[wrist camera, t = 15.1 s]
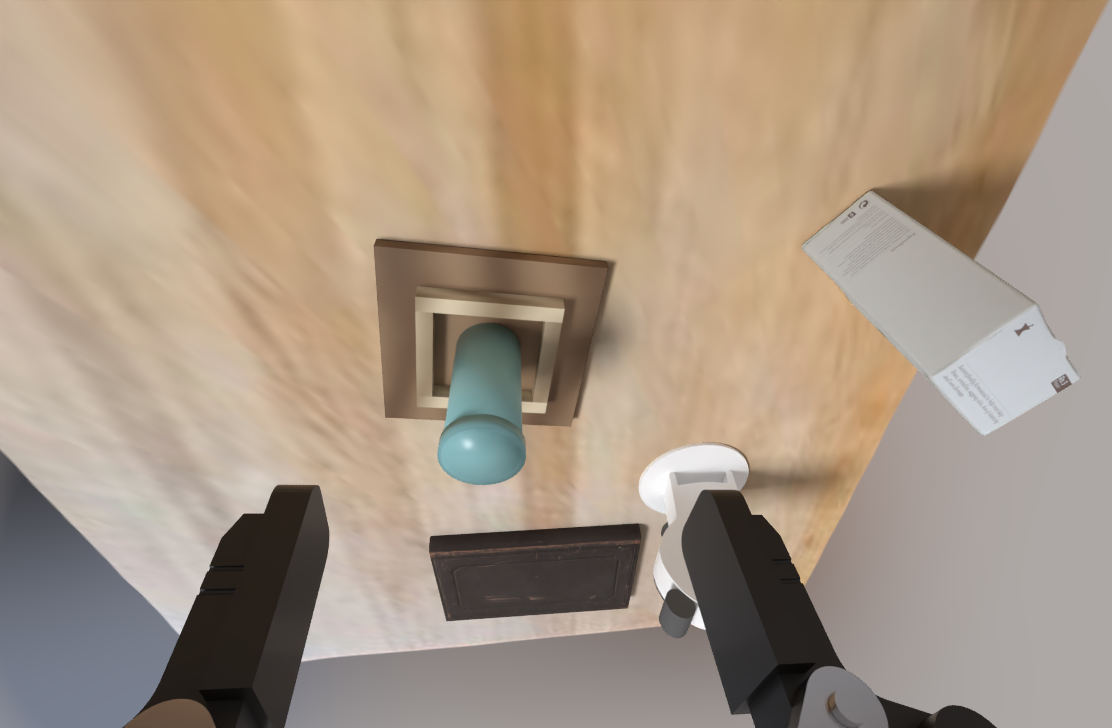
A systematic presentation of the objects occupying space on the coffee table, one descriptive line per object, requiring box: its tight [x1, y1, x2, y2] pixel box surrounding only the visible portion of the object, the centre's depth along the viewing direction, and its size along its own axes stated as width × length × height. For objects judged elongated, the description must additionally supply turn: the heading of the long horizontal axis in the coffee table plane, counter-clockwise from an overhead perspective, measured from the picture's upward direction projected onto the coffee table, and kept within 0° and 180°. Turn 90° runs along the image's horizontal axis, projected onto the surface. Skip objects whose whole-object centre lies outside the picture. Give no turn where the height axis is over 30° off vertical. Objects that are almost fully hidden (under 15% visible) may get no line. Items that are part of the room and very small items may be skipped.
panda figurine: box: [639, 442, 749, 638], centre depth 50 cm, size 12×11×15 cm
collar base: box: [374, 239, 608, 427], centre depth 42 cm, size 16×16×2 cm
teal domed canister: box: [438, 323, 526, 485], centre depth 38 cm, size 5×5×11 cm
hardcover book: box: [429, 524, 641, 621], centre depth 64 cm, size 16×23×2 cm
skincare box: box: [802, 191, 1081, 435], centre depth 34 cm, size 8×6×15 cm
